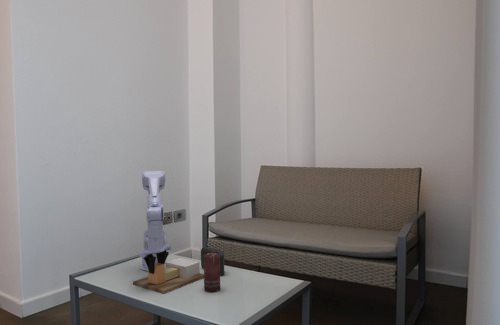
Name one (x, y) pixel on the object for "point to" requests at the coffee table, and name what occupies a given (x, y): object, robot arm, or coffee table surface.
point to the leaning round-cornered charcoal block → (205, 250)
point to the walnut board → (168, 283)
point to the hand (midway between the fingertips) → (156, 271)
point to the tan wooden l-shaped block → (162, 274)
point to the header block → (184, 267)
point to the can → (211, 271)
